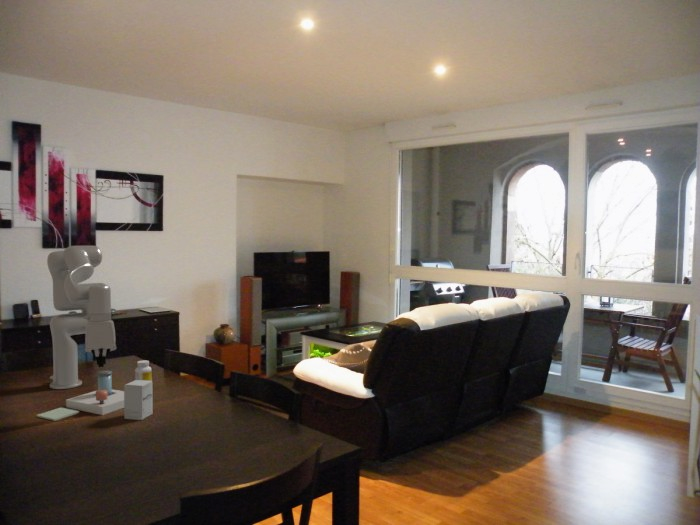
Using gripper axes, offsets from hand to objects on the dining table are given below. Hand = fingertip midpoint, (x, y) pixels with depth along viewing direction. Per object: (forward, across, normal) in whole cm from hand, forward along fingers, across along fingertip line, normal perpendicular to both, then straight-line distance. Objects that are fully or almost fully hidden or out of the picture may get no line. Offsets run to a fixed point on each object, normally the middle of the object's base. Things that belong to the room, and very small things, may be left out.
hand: (101, 366), depth 205 cm
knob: (+15, 0, +1) cm, 15 cm away
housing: (+17, 0, +9) cm, 19 cm away
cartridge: (+17, 0, +13) cm, 22 cm away
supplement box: (+18, +13, -10) cm, 24 cm away
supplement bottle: (+17, +14, +23) cm, 32 cm away
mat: (+17, -15, +1) cm, 23 cm away
